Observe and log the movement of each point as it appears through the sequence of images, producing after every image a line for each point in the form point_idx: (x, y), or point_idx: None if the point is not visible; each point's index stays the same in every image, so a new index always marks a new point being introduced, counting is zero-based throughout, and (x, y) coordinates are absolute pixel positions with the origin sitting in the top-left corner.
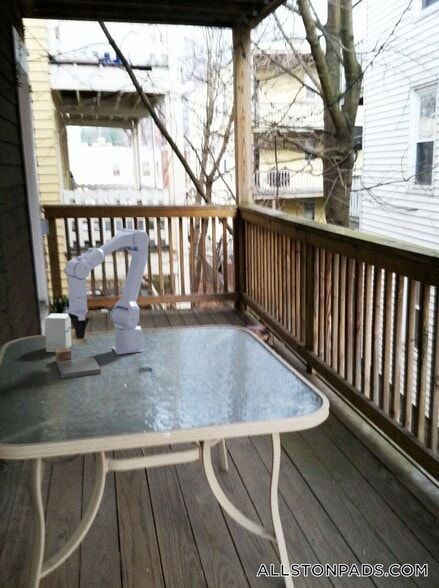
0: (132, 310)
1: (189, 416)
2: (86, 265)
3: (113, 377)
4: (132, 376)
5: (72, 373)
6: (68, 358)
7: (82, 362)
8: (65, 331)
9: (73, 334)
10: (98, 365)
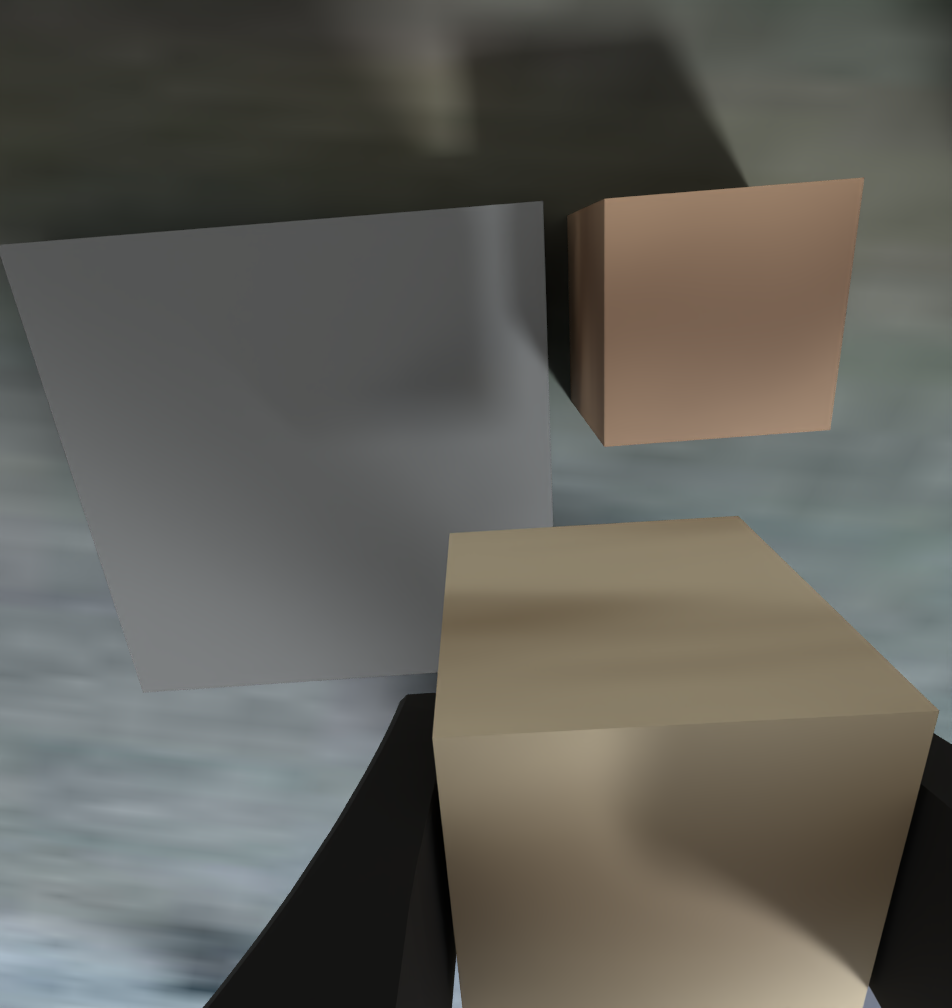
0: None
1: None
2: None
3: (42, 744)
4: (58, 871)
5: (54, 384)
6: (580, 377)
7: (407, 534)
8: None
9: (440, 692)
10: (261, 682)
